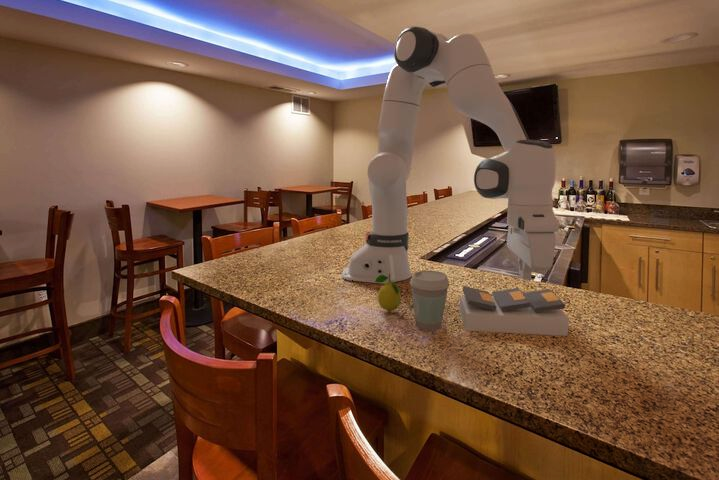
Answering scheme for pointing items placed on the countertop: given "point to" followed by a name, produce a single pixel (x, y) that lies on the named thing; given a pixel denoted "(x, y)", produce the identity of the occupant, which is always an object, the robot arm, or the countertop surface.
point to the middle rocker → (510, 299)
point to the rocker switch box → (513, 320)
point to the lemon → (388, 294)
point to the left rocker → (479, 298)
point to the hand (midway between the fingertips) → (524, 277)
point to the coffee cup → (429, 299)
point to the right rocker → (544, 300)
